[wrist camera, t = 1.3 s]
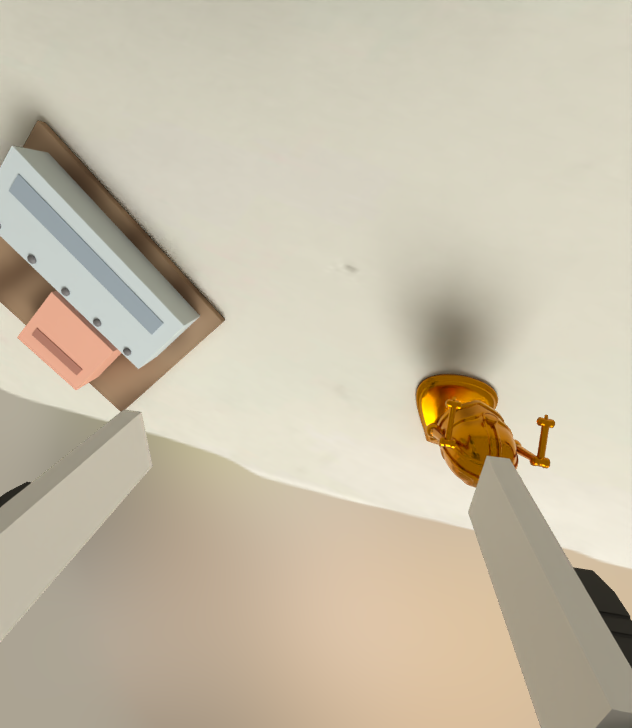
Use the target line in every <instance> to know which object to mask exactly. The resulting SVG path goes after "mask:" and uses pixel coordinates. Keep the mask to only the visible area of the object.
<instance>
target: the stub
mask: <svg viewBox="0 0 632 728" xmlns="http://www.w3.org/2000/svg"><path fill="white" fill-rule="evenodd" d="M17 338H18V339H19V340H20V341H22V342H23V343H24V344H25V345H26V346H27V347H28V348H29V349H30V350H32V351H33V352H34V353H35V354H36V355H37V356H38V357H39V358H41V359H42V360H43V361H44V362H45V363H46V364H47V365H48V366H49V367H51V368H52V369H53V370H54V371H55V372H56V373H57V374H58V375H60V376H61V377H62V378H63V379H64V380H65V381H66V382H67V383H69V384H70V385H71V386H72V387H73V388H74V389H75V390H77V389H79V388H81V387H82V386H84V385H86V384H87V383H89V382H91V381H92V380H94V379H96V378H97V377H99V376H100V375H101V374H102V372H103V371H104V370H105V369H106V368H107V367H108V366H109V365H110V364H111V363H112V362H113V361H114V360H115V359H116V358H117V357H118V356H119V355H120V354H121V352H120V351H119V350H118V349H117V348H116V347H115V346H114V345H113V344H112V343H111V342H110V341H109V340H108V339H107V338H106V337H105V336H104V335H102V334H101V333H100V332H99V331H98V330H97V329H96V328H95V327H94V326H93V325H92V324H91V323H90V322H89V321H88V320H87V319H86V318H85V317H84V316H83V315H82V314H81V313H80V312H79V311H78V310H77V309H76V308H74V307H73V306H72V305H71V304H70V303H69V302H68V301H67V300H66V299H65V298H64V297H63V296H62V295H61V294H60V293H59V292H58V291H54V292H51V293H50V295H49V296H48V297H47V299H46V300H45V301H44V303H43V304H42V305H41V307H40V308H39V309H38V311H37V312H36V313H35V315H34V316H33V317H32V319H31V320H30V321H29V322H28V324H27V325H26V326H25V328H24V329H23V330H22V332H21V333H20V334H19V336H18V337H17Z"/></svg>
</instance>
